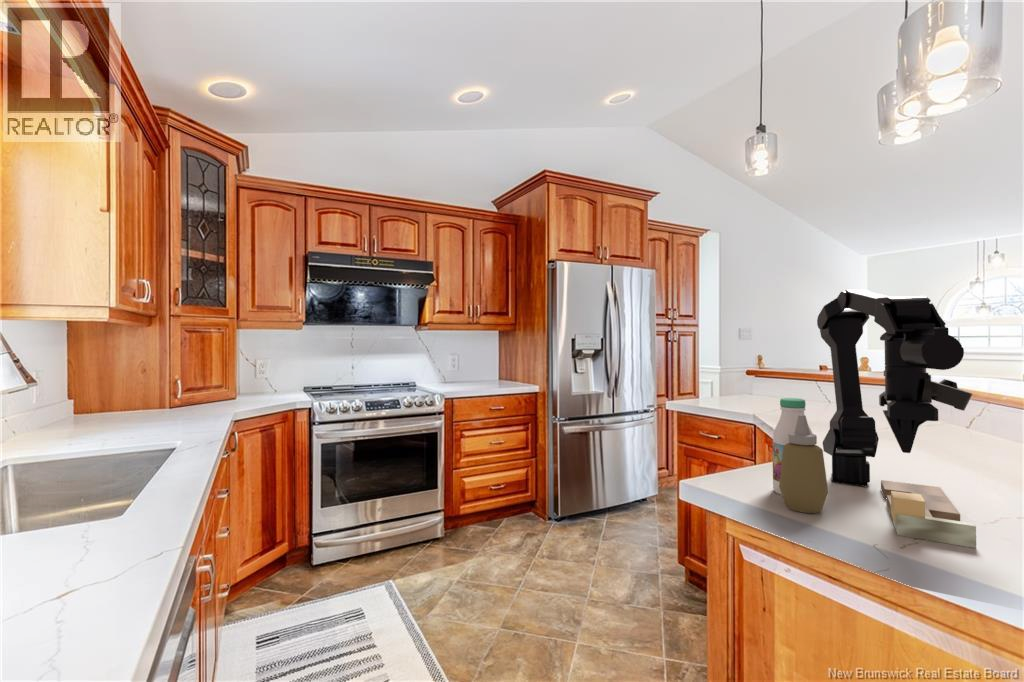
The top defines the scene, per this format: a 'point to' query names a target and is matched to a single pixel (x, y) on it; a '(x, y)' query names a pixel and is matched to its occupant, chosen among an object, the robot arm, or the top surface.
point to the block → (907, 504)
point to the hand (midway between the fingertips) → (906, 452)
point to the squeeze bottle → (803, 471)
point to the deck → (931, 516)
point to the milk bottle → (785, 433)
